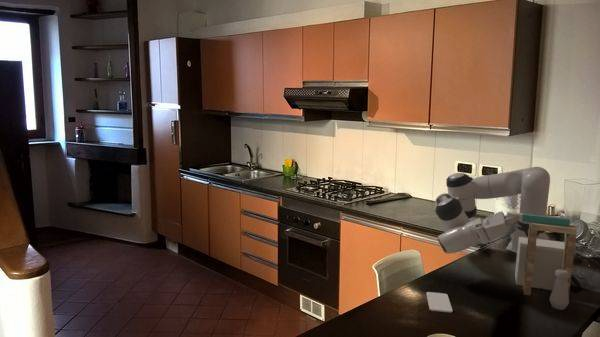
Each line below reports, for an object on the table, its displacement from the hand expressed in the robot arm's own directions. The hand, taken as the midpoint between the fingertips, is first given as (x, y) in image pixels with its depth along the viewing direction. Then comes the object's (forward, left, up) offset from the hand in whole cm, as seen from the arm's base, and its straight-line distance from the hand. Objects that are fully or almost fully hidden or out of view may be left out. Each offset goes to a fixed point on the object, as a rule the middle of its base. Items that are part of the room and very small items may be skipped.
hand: (518, 215), depth 175 cm
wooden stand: (0, +11, -28) cm, 30 cm away
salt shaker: (+11, +14, -28) cm, 33 cm away
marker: (0, +6, -2) cm, 7 cm away
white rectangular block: (-10, +10, -28) cm, 31 cm away
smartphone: (+23, -24, -28) cm, 44 cm away
